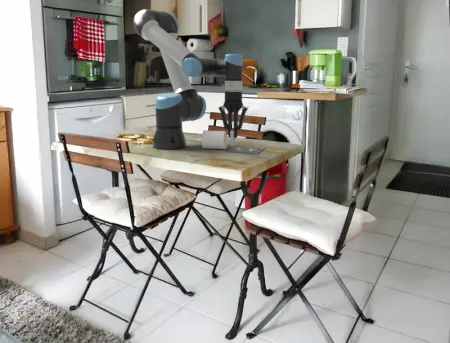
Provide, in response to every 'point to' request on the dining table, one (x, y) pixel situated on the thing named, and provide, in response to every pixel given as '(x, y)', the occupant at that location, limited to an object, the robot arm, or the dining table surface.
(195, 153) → the dining table surface
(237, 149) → the tile
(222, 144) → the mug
